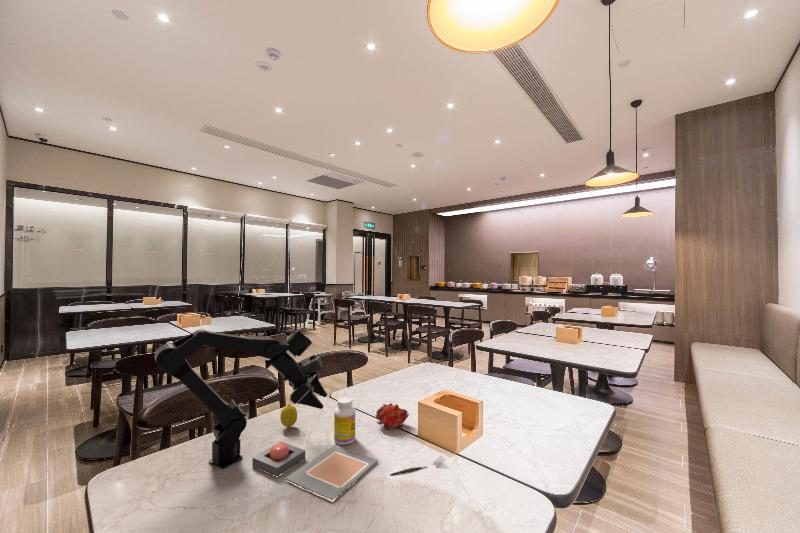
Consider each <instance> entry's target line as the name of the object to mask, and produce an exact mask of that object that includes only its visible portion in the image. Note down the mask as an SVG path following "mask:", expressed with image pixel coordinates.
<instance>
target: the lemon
mask: <svg viewBox="0 0 800 533" xmlns="http://www.w3.org/2000/svg"><path fill="white" fill-rule="evenodd" d="M297 419H298V411H297V408H296V406H294V405H293V404H290V403H288V404H287V405H285V406H284V407H283V408H282V409H281V411H280V423H281V424H282V425H283V426H284V427H285V428H288V429H290V428H291V427H292V426H294V425H295V424H296V422H297Z"/></svg>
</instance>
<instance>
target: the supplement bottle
mask: <svg viewBox="0 0 800 533" xmlns="http://www.w3.org/2000/svg"><path fill="white" fill-rule="evenodd" d="M352 405H353V398H351V397H346V396H345V397H340V398H338V399H337V407H336V408H334V412H333V413H334V414H333V418H334V419H333V420H334V421H333V422H334V423H333V424H334V425H333V429H334V430H333V433H334V434H333V435H334V436H333V438H334V439H333V441H334V442H335V443H336V445H341V446H346V445H350V444H352V443H354V442H355V439H356V407H354V406H352Z"/></svg>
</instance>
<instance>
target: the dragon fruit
mask: <svg viewBox="0 0 800 533" xmlns="http://www.w3.org/2000/svg"><path fill="white" fill-rule="evenodd" d="M409 416H410V413H408V410H407V409H404V408H400V406H399V404H393V403H389V404H386V403H383V404H382V406H380V407H379V408H378V409H377V410H376V415H375V417H376V419H377V421H376V423H377V424H378V425H383V427H384V428H387V429H389V430H392V429H393V428H398V429H399V428H401V427H403V426H404V425H403V424H404V423H405V421H406V420H407V419H408V417H409Z"/></svg>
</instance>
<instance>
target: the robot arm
mask: <svg viewBox="0 0 800 533" xmlns="http://www.w3.org/2000/svg"><path fill="white" fill-rule="evenodd" d="M312 344H313V342H312V341H311V340H310V338H309V336H306V335H305V334H304V333H302V332H301V331H300V330H298V329H296V330H294V332H293V333H292V335H291V336H290V337H288V338H287V339H286V341H282V340H276V339H274V338H272V337H271V336H266V335H265V336H250V337H249V336H240V335H235V334H227V333H222V332H217V331H209V330H205V329H202V328H200V329H196V330H195V331H194V332H192V333H191V334H187V335H186V336H184V337H182V338H179V339H177V340H176V341H175V340H174V342H172V343H166V344H162V345H161V346H159V347H158V348H156V351H155V352H154V361H155V364H156V367H157V368H159V369H160V370H161V371H163V372H164V373H166V374H168V375H169V376H171V377H173V378H175V379H176V380H179V381H180V382H181V383H182V384H183V385H184V386H185V388H187V389H188V390H190V392H191V393H192V394H193V395H194V396H195V397H196V398H197V399H198V400H200V401H201V403H202V404H204V405H205V407H207V408H208V409H209V410H210V411H211V412H212V413H213V414H214V416H215V417H216V420H217V421H218V422H217V423H216V424H215V425H214V426H213V428H212V429H211V432H212V434H213V436H214V438H215V439H214V441H212V442H211V459H209V460H208V464H211V465H213V466H214V467H217V468H219V469H221V470H223V469H225V468H227V467H229V466H230V465H232V464H234V463H236V462H238V461H241V459H243V455H241V434H242V433H243V432H244V430H245V429H246V427H247V423H248V421H247V419H246V416H247V414H246V412H244V410H243V409H242V407H241V406H238V405H237V404H236V402H235V400H234V399H231V400H230V401H229V402H227V401H225V400H224V399H223V398H222V397H220V395H218V393H216V391H215V390H214V389H213V388H212V387H211V386H210V385H209V384H208V383H207V382H206V381H205V380H204V379H203V378H202V377H201V376H200V375H199V374H198V372H196V371H195V370H194V369H193V368H192V366H191V365H190V364H189V362H188V360H187V358H189V357H191V356H192V355H193V354H195V353H196V352H197V351H198V350H200V349H201V348H203V347H205V346H206V347H212V348H220V349H228V350H234V351H241V352H242V351H243V352H246V353H250V354H253V355H255V356H259V357H260V358H265V360H264V364H265V366H264V369H265V370H268V369H269V368H270V367H271V366H272V367H273V369H275V370H276V371H277V372H278V374H280V375H281V376H282V377H283V378H282V380H283V381H284V382H286V381H287V382H288V383H289V384H291V385H292V386H293V387H292V390H293V391H292V392H291V394H290V396H289V401H291V402H292V403H293V404H294V405H296V404H297V405H304V406H308V407H312V408H315V409H319V410H322V409H323V408H324V404H323V403H322V401H321V400H320V399H319V398H318V396H321V397H323V398H327V396H328V392H327V391H326V390H325V388H324V387H323V384H322V383H321V381H320V372H319V371H321V370H322V369H323V366H324V364H323V362H322V358H321V357H320V356H317V355H316V354H312V355H310V357H309V360H308V361H307V362H305V363H303V362H301V361H298V362H297V361H296V359H294V358H296V356H297V357H301V356H302V355H303V353H305V352H306V351H307V350H308V349H309V348H310V347H311V345H312ZM293 357H294V358H293ZM316 394H317V395H318V396H316Z"/></svg>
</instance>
